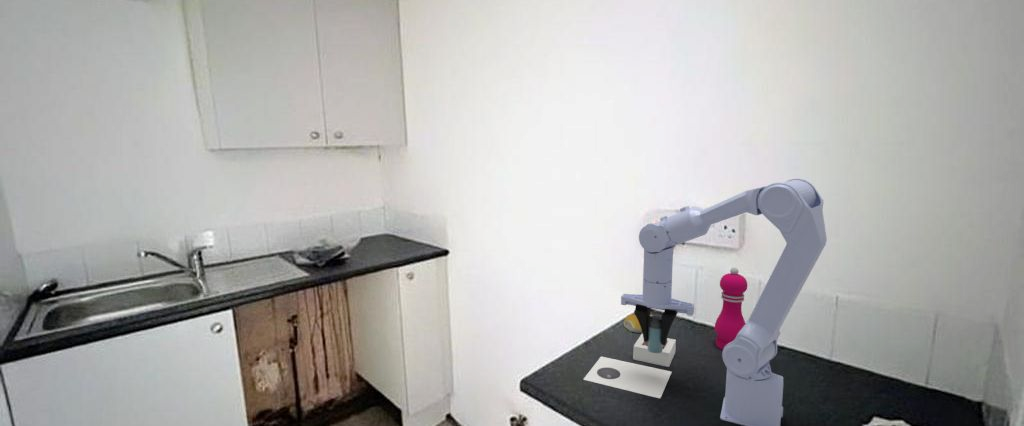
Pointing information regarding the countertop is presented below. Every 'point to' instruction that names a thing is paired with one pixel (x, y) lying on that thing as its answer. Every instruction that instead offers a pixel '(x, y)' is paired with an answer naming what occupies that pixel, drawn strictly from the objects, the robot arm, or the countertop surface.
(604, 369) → the paper
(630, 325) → the bread roll
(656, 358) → the button housing
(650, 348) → the teal cylinder
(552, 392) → the countertop surface
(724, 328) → the pepper mill
